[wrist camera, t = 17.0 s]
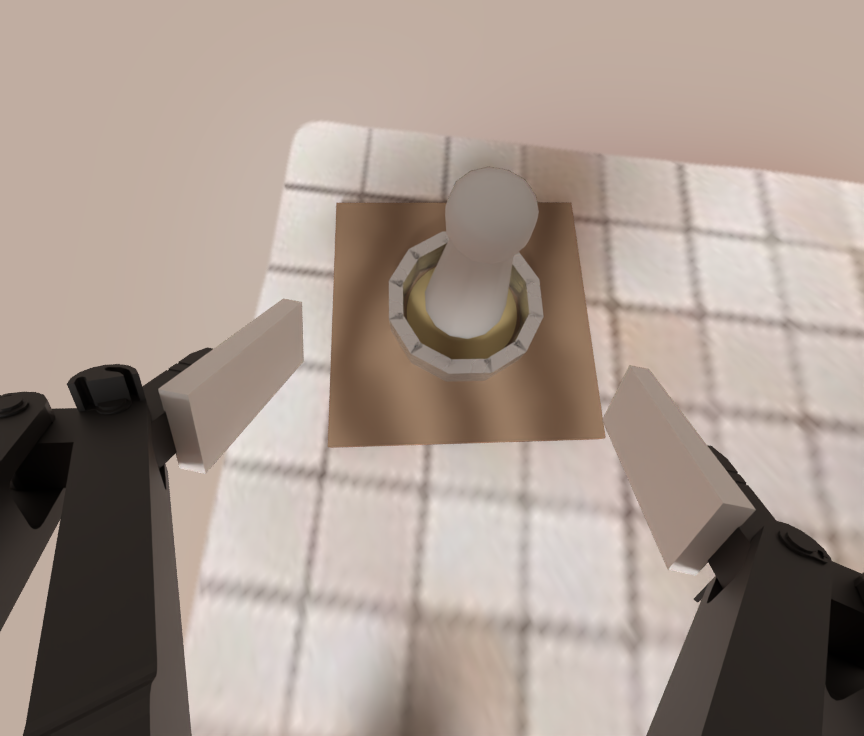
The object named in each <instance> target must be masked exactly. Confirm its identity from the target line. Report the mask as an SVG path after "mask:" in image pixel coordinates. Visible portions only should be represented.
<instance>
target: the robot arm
mask: <svg viewBox="0 0 864 736" xmlns="http://www.w3.org/2000/svg"><path fill="white" fill-rule="evenodd" d="M303 361H304V357H303V322H302V302H298V301H293V300H288V299H282V300H281V301H279V302H278V303H277V304H275V305H274V306H272V307H271V308H270V309H268V310H267V311H265V312H264V313H263V314H261V315H260V316H259V317H257V318H256V319H254V320H253V321H252V322H250V323H249V324H247V325H246V326H245V327H243V328H242V329H241V330H239V331H238V332H236V333H235V334H234V335H233V336H231V337H230V338H228V339H227V340H225V341H224V342H223V343H221V344H220V345H219V346H217V347H216V348H214V349H211V348H205V349H202V350H199V351H197V352H194V353H191V354H189V355H188V356H187V357H185V358H184V359H182V360H181V361H179V363H178V364H175V365H173V366H172V367H170V368H169V370H168V371H167V370H166V371H165V372H163V373H162V374H160V375H159V376H157V377H156V378H154V379H153V380H151V381H150V382H148V383H147V384H145V385H144V386H142V384H141V381H140V377H139V374H138V372H137V370H136V369H135V368H133V367H131V366H128V365H120V364H113V365H103V366H98V367H93V368H90V369H87V370H84V371H82V372H79V373H78V374H77V375H75V376H73V377H72V378H71V379H70V380H69V382H68V383H67V385H68V388H69V390H70V393H71V395H72V397H73V400H74V402H75V404H76V407H77V408H68V409H51V407H50V405H49V402H48V400H47V399H46V397H45V396H44V395H43V394H40V393H36V392H17V393H8V394H4V395H2V396H1V395H0V631H1V629H2V627H3V625H4V624H5V622H6V620H7V618H8V616H9V614H10V612H11V610H12V609H13V607H14V605H15V603H16V601H17V599H18V597H19V595H20V594H21V592H22V590H23V588H24V586H25V584H26V582H27V581H28V579H29V577H30V575H31V573H32V571H33V569H34V567H35V566H36V564H37V562H38V560H39V558H40V556H41V554H42V552H43V550H44V549H45V547H46V545H47V543H48V541H49V539H50V537H51V536H52V533H53V532H54V530H55V528H56V526H57V524H58V522H59V521H60V526H59V532H58V538H57V543H56V549H55V555H54V561H53V568H52V573H51V579H50V584H49V590H48V596H47V602H46V608H45V614H44V620H43V626H42V631H41V638H40V643H39V649H38V655H37V661H36V667H35V673H34V679H33V684H32V690H31V696H30V702H29V708H28V715H27V720H26V726H25V730H24V733H23V736H192V734H191V725H190V714H189V703H188V691H187V680H186V669H185V658H184V647H183V636H182V625H181V614H180V602H179V592H178V581H177V569H176V558H175V547H174V536H173V525H172V515H171V502H170V491H169V482H168V481H169V480H168V471H167V467H166V464H165V463H166V462H167V461H168V460H169V459H170V458H171V457H172V456H173V455H174V454H175V453H176V456H177V460H178V464H179V467H180V469H186V470H190V471H195V472H200V473H205V474H206V473H207V472H208V470H209V469H210V468H211V467H212V466H213V465H214V464H215V463H216V461H217V460H218V459H219V458H220V457H221V456H222V454H223V453H224V452H225V451H226V450H227V449H228V448H229V446H230V445H231V444H232V443H233V442H234V441H235V440H236V438H237V437H238V436H239V435H240V434H241V433H242V432H243V430H244V429H245V428H246V427H247V426H248V425H249V423H250V422H251V421H252V420H253V419H254V418H255V417H256V415H257V414H258V413H259V412H260V411H261V410H262V409H263V407H264V406H265V405H266V404H267V403H268V402H269V401H270V399H271V398H272V397H273V396H274V395H275V394H276V392H277V391H278V390H279V389H280V388H281V387H282V386H283V384H284V383H285V382H286V381H287V380H288V379H289V378H290V376H291V375H292V374H293V373H294V372H295V371H296V370H297V368H298V367H299V366H300V365H301V364H302V363H303ZM602 421H603V423H604V426H605V428H606V430H607V432H608V435H609V437H610V439H611V441H612V444H613V446H614V448H615V451H616V453H617V455H618V457H619V460H620V462H621V464H622V467H623V469H624V471H625V473H626V476H627V478H628V480H629V482H630V485H631V487H632V489H633V492H634V494H635V496H636V498H637V501H638V503H639V505H640V507H641V510H642V512H643V514H644V517H645V519H646V521H647V523H648V526H649V528H650V530H651V532H652V535H653V537H654V539H655V542H656V544H657V546H658V548H659V551H660V553H661V555H662V557H663V560H664V562H665V564H666V567H667V569H668V570H672V571H677V572H681V573H686V574H691V575H697V574H698V573H699V572H700V570H701V569H702V568H703V567H704V566H705V565H706V564H707V563H708V562H709V564H710V566H711V568H712V570H713V572H714V573H715V575H716V576H715V577H714V578H713V579H712V580H711V581H710V582H709V583H708V584H707V586H706V587H705V588H704V589H703V590H702V591H701V592H700V593H699V594H698V595H697V596H696V597H695V598H694V600H695V601H697V602H699V601H700V600H701V599H702V600H701V603H700V605H699V608H698V610H697V612H696V615H695V617H694V620H693V622H692V625H691V627H690V630H689V632H688V635H687V637H686V640H685V642H684V644H683V647H682V649H681V652H680V654H679V657H678V659H677V662H676V664H675V667H674V669H673V671H672V674H671V676H670V679H669V681H668V684H667V686H666V689H665V691H664V694H663V696H662V698H661V701H660V703H659V706H658V708H657V711H656V713H655V716H654V718H653V721H652V723H651V726H650V728H649V730H648V733H647V735H646V736H864V573H862V574H861V573H859V572H856V571H854V570H851V569H849V568H847V567H844V566H842V565H840V564H837V563H835V562H833V561H831V558H830V556H829V555H828V554H827V552H826V551H825V550H824V548H822V547H821V546H820V545H819V544H818V543H817V542H816V541H815V540H814V539H812V538H811V537H810V536H808V535H807V534H805V533H804V532H802V531H801V530H799V529H797V528H795V527H793V526H791V525H789V524H786V523H782V522H779V521H776V520H775V518H774V517H773V516H772V515H771V513H770V512H769V511H768V510H767V508H766V507H765V506H764V505H763V503H762V502H761V501H760V499H759V498H758V497H757V496H756V494H755V493H754V492H753V491H752V489H751V488H750V487H749V486H748V485H746V482H745V481H744V479H743V478H742V477H741V476H740V475H739V474H737V471H736V469H735V468H734V467H733V465H732V464H731V463H730V462H729V460H728V459H727V458H726V457H724V456H723V455H722V454H721V453H719V452H718V451H717V450H716V449H715V448H713V447H712V446H708V445H706V443H705V442H704V441H703V439H702V438H701V437H700V435H699V434H698V433H697V432H696V430H695V429H694V428H693V426H692V425H691V424H690V422H689V421H688V420H687V418H686V417H685V416H684V414H683V413H682V412H681V410H680V409H679V408H678V407H677V405H676V404H675V403H674V401H673V400H672V399H671V397H670V396H669V395H668V393H667V392H666V391H665V389H664V388H663V387H662V386H661V384H660V383H659V382H658V380H657V379H656V378H655V376H654V375H653V374H652V372H651V371H650V370H649V369H646V368H641V367H636V366H631V365H629V367H628V369H627V371H626V373H625V375H624V377H623V379H622V381H621V383H620V385H619V387H618V389H617V391H616V393H615V395H614V397H613V399H612V401H611V403H610V405H609V407H608V409H607V411H606V413H605V415H604V417H603V419H602ZM60 519H61V520H60Z"/></svg>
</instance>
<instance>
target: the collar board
mask: <svg viewBox="0 0 864 736" xmlns="http://www.w3.org/2000/svg"><path fill="white" fill-rule="evenodd" d="M446 204H447V203H337V205H336V233H335V261H334V289H333V317H332V345H331V373H330V400H329V428H328V447H331V448H334V447H366V446H398V445H430V444H462V443H493V442H525V441H557V440H589V439H603V438H605V431H604V424H603V421H602V419H603V417H602V410H601V403H600V397H599V390H598V383H597V376H596V369H595V362H594V355H593V349H592V342H591V335H590V328H589V321H588V314H587V308H586V301H585V294H584V287H583V280H582V273H581V266H580V260H579V253H578V246H577V239H576V232H575V225H574V218H573V212H572V205H571V203H537V205H538V211H539V213H538V218H537V222H536V225H535V227H534V230H533V232H532V235H531V237H530V239H529V241H528V243H527V244H526V246H525V247H524V248H523V249H521V250H520V251H519V252H518V253H517V254H516V255H514V256H513V263H512V269H511V276H510V282H509V289H508V295H507V302H506V306H505V309H504V312H503V314H502V317H501V319H500V321H499V322H498V323H497V324H496V325H495V326H494V327H493V328H492V329H490V330H489V331H488V332H487V333H486V334H485V335H481V336H477V337H474V338H470V339H465V338H459V337H453V336H449V335H448V334H446V333H445V332H443V331H442V330H440V329H439V328H438V327H436V326H435V324H434V323H433V321H432V319H431V318H430V316H429V315H428V313H427V311H426V304H425V291H426V288H427V286H428V283H429V281H430V279H431V276H432V274H433V272H434V270H435V268H436V266H437V264H438V262H439V260H440V257H441V255H442V253H443V251H444V249H445V247H446V245H447V243H448V241H449V237H448V235H447V233H446V220H445V206H446Z"/></svg>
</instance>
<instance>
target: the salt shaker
mask: <svg viewBox="0 0 864 736" xmlns="http://www.w3.org/2000/svg"><path fill="white" fill-rule="evenodd" d="M538 213H539V211H538V205H537V199H536V195H535V193H534V192H533V190H532V189H531V187H530V186H529V185H528V183H527V182H526V180H525V179H523V178H521V177H519V176H518V175H516V174H514V173H513V172H511V171H509V170H505V169H499V168H494V167H486V168H481V169H477V170H473V171H470V172H468V173H467V174H466V175H464V176H463V177H462V178H460V179H459V180H458V181H456V183H455V185H454V187H453V189H452V192H451V194H450V196H449V198H448V201H447V204H446V206H445V220H446V233H447V235H448V237H449V241H448V243H447V245H446V247H445V249H444V251H443V253H442V255H441V257H440V260H439V262H438V264H437V266H436V268H435V270H434V272H433V274H432V276H431V279H430V281H429V283H428V286H427V288H426V291H425V304H426V311H427V313H428V315H429V316H430V318H431V319H432V321H433V323H434V324H435V326H436V327H438V328H439V329H440V330H442V331H443V332H445V333H446V334H448V335H449V336H453V337H459V338H465V339H470V338H474V337H477V336H481V335H485V334H486V333H487V332H488V331H489V330H490V329H492V328H493V327H494V326H495V325H496V324H497V323H498V322H499V321H500V319H501V317H502V314H503V312H504V309H505V306H506V302H507V295H508V289H509V282H510V276H511V269H512V263H513V256H514V255H516V254H517V253H518V252H519V251H520V250H521V249H523V248H524V247H525V246H526V244H527V243H528V241H529V239H530V237H531V235H532V232H533V230H534V227H535V225H536V222H537V218H538Z"/></svg>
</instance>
